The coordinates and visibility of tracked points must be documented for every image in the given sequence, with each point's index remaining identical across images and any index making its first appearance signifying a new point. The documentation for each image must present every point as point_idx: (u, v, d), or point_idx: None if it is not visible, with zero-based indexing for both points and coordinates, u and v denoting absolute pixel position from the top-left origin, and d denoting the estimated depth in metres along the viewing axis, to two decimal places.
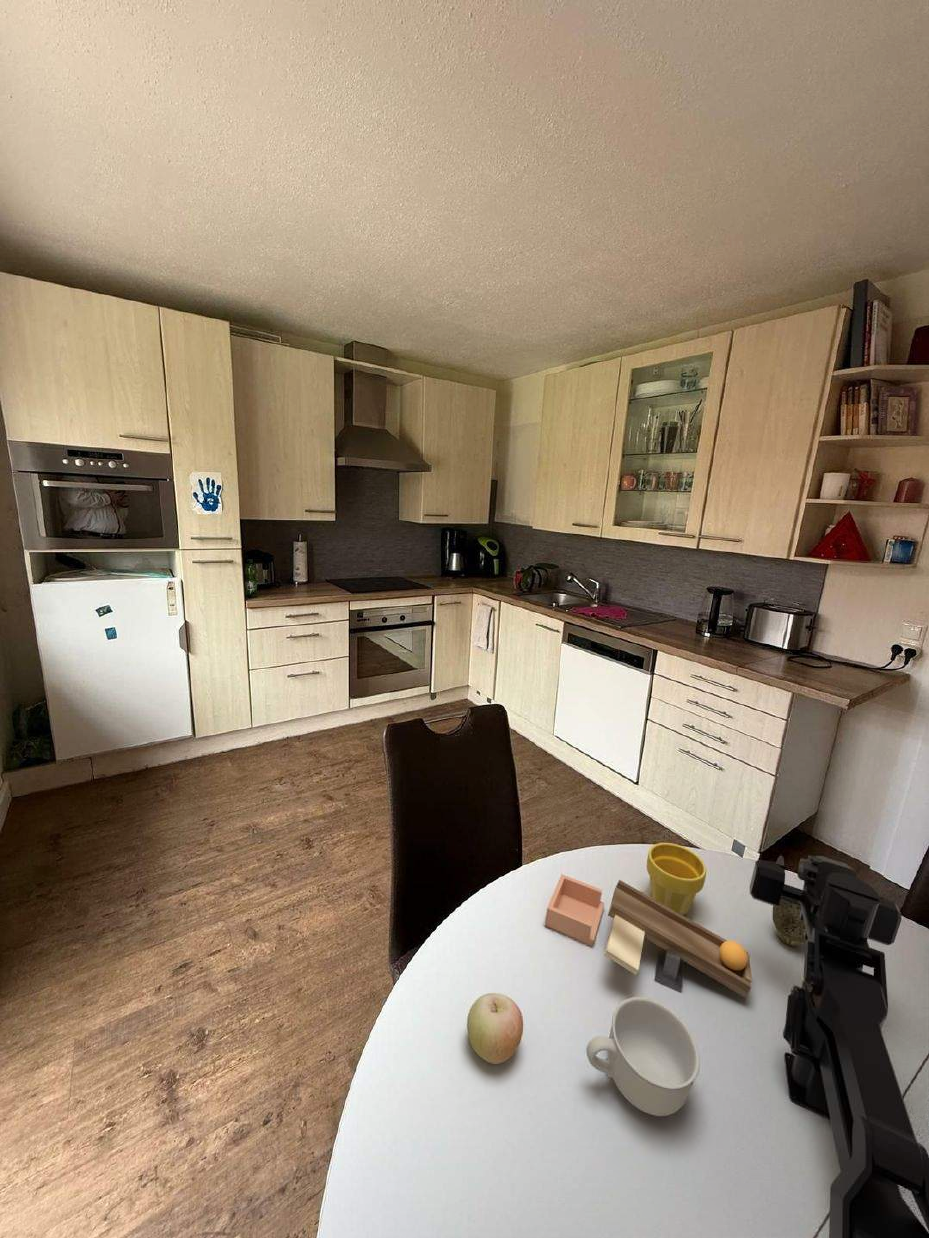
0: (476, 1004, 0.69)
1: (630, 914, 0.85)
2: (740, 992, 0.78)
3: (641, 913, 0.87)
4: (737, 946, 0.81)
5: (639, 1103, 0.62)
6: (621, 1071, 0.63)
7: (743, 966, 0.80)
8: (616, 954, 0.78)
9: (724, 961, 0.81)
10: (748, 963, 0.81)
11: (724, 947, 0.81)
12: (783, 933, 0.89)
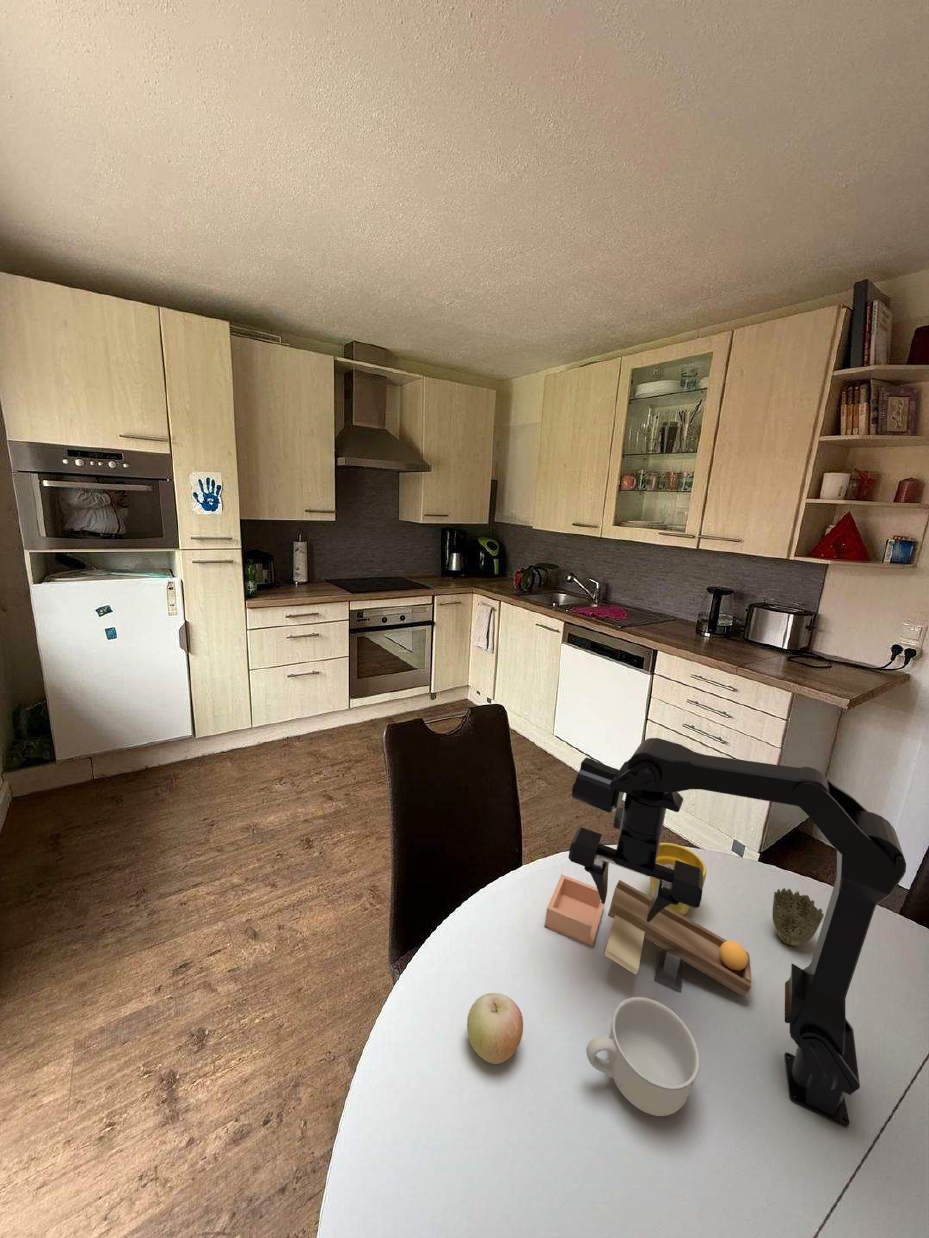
0: (476, 1004, 0.69)
1: (630, 914, 0.85)
2: (740, 992, 0.78)
3: (641, 913, 0.87)
4: (737, 946, 0.81)
5: (639, 1103, 0.62)
6: (621, 1071, 0.63)
7: (743, 966, 0.80)
8: (616, 954, 0.78)
9: (724, 961, 0.81)
10: (748, 963, 0.81)
11: (724, 947, 0.81)
12: (783, 933, 0.89)
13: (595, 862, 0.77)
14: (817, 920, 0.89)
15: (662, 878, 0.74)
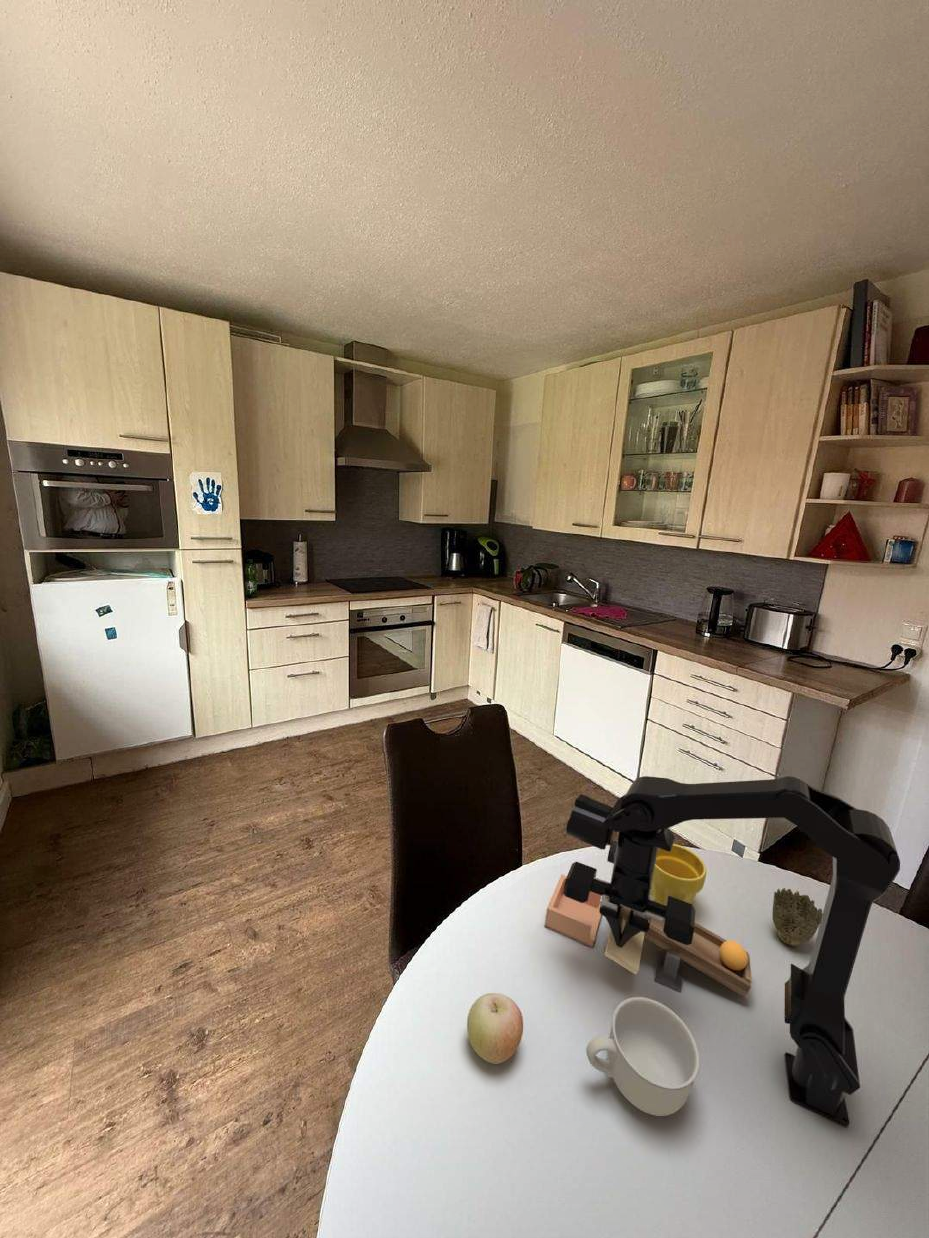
0: (476, 1004, 0.69)
1: None
2: (740, 992, 0.78)
3: None
4: (737, 946, 0.81)
5: (639, 1103, 0.62)
6: (621, 1071, 0.63)
7: (743, 966, 0.80)
8: (616, 954, 0.78)
9: (724, 961, 0.81)
10: (748, 963, 0.81)
11: (724, 947, 0.81)
12: (783, 933, 0.89)
13: (610, 906, 0.77)
14: (817, 920, 0.89)
15: None
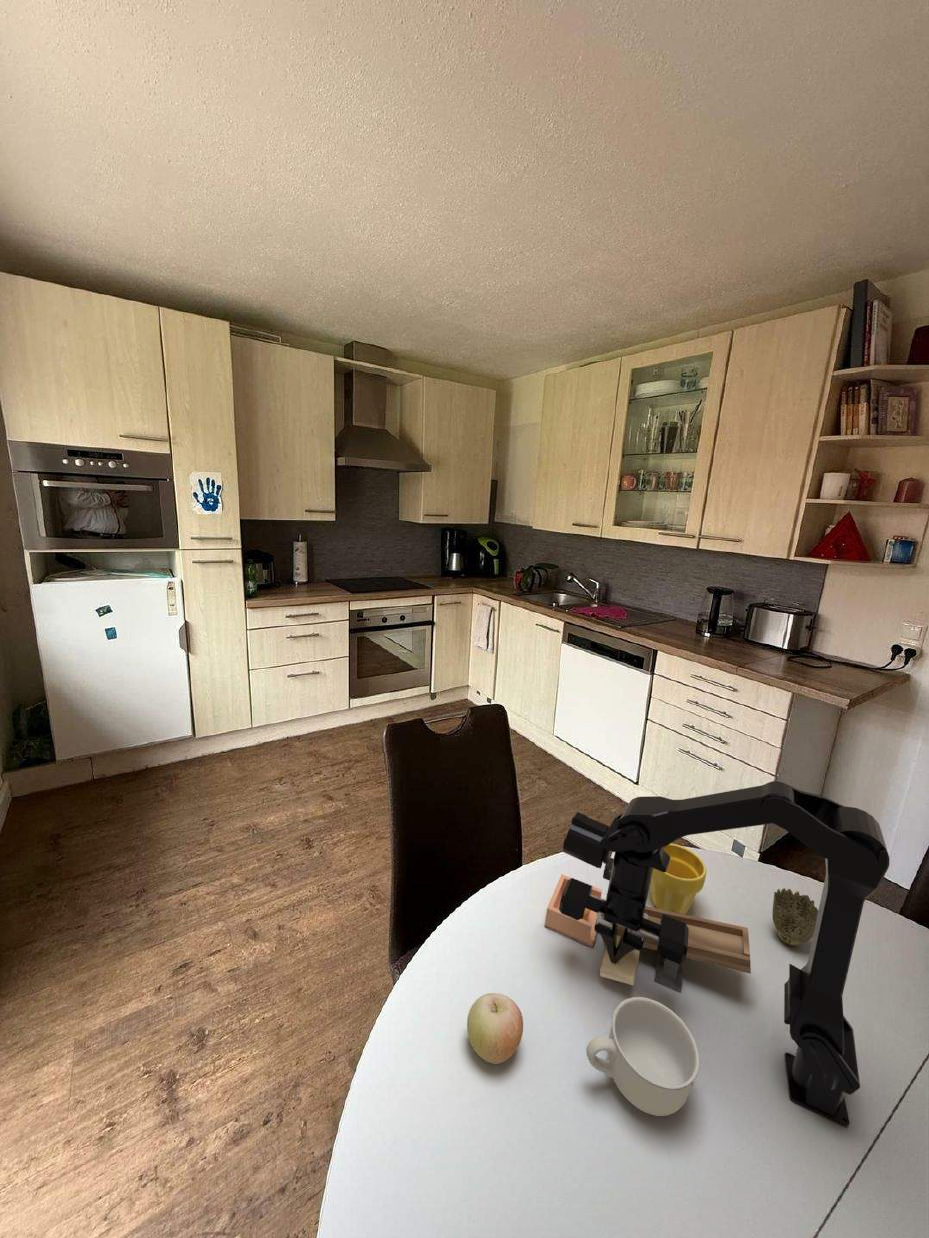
0: (476, 1004, 0.69)
1: (622, 928, 0.86)
2: (745, 970, 0.77)
3: None
4: None
5: (639, 1103, 0.62)
6: (621, 1071, 0.63)
7: (584, 917, 0.90)
8: (610, 971, 0.79)
9: None
10: (746, 938, 0.81)
11: None
12: (783, 933, 0.89)
13: (605, 923, 0.78)
14: None
15: None
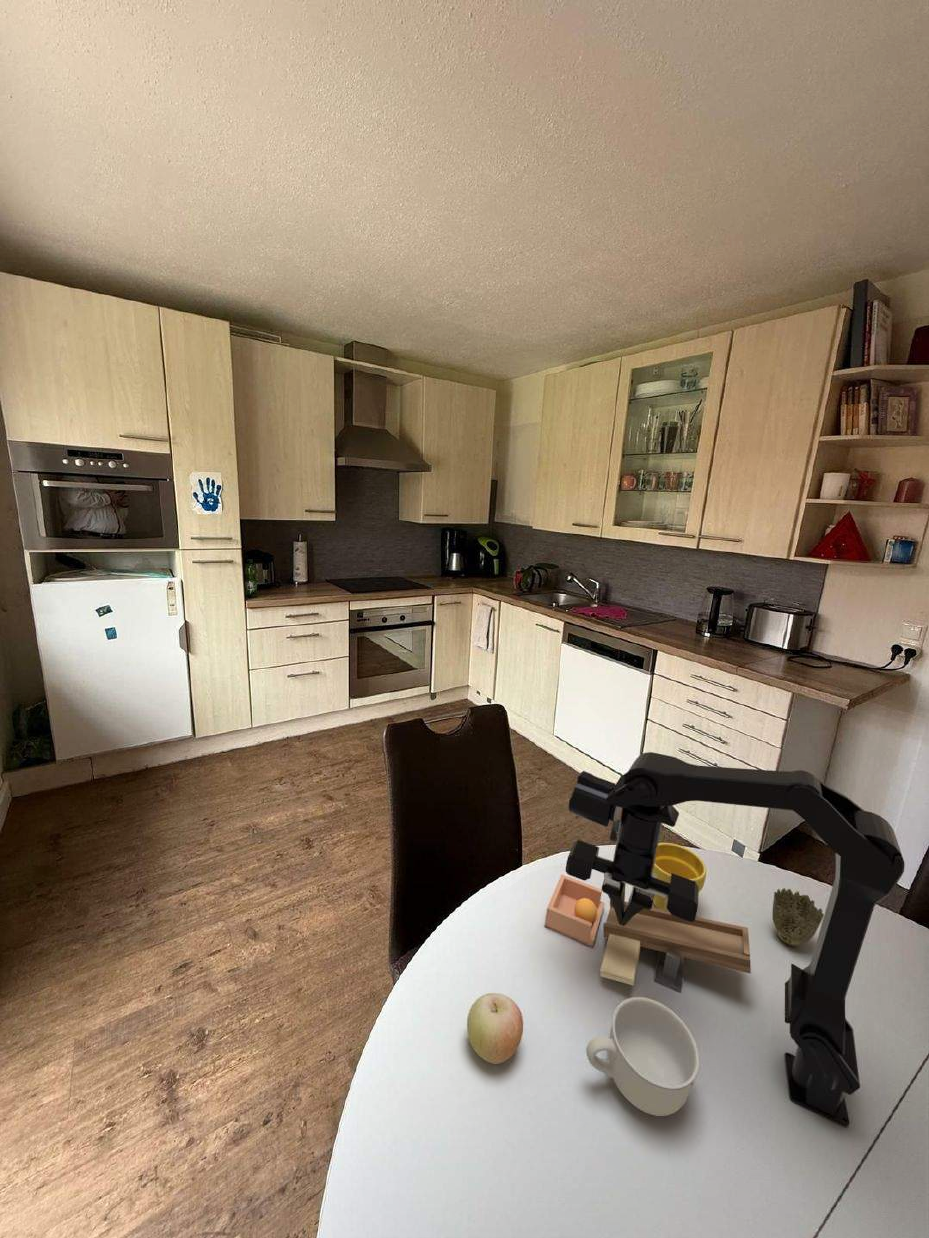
0: (476, 1004, 0.69)
1: (622, 928, 0.86)
2: (745, 969, 0.77)
3: (637, 924, 0.88)
4: (583, 900, 0.91)
5: (639, 1103, 0.62)
6: (621, 1071, 0.63)
7: (591, 916, 0.90)
8: (610, 971, 0.79)
9: None
10: (746, 938, 0.81)
11: (575, 906, 0.92)
12: (783, 933, 0.89)
13: (612, 883, 0.76)
14: (817, 920, 0.89)
15: None
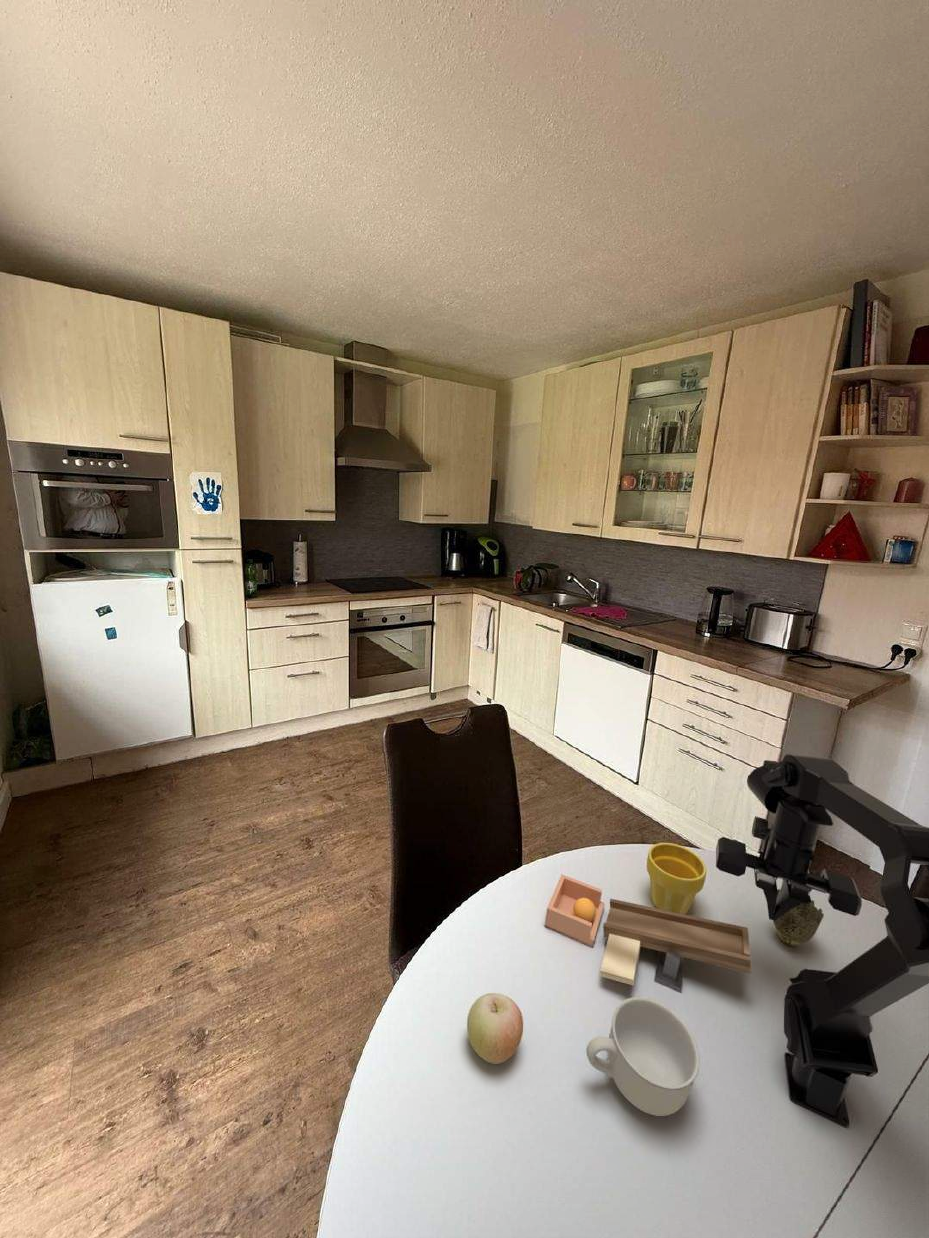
0: (476, 1004, 0.69)
1: (622, 928, 0.86)
2: (745, 969, 0.77)
3: (637, 924, 0.88)
4: (581, 900, 0.92)
5: (639, 1103, 0.62)
6: (621, 1071, 0.63)
7: (590, 915, 0.90)
8: (610, 971, 0.79)
9: None
10: (746, 938, 0.81)
11: None
12: (783, 933, 0.89)
13: (767, 879, 0.78)
14: (817, 920, 0.89)
15: None
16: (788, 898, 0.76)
